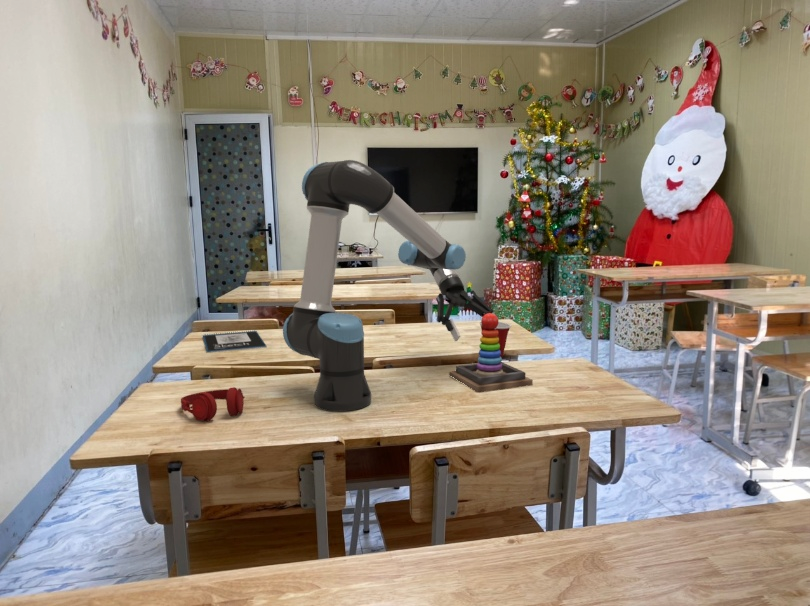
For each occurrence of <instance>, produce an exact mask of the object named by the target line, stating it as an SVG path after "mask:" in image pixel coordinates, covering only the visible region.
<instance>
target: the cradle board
mask: <svg viewBox="0 0 810 606" xmlns="http://www.w3.org/2000/svg"><path fill="white" fill-rule="evenodd" d="M477 363H478V362H477ZM477 363H469V364H467V363H466V364H460V365H455V370H451V371H448V374H449V375H450V376H452V377H454V378H455V379H457V380H458V381H460V382H462V383H464V384H465V385H467V386H468V387H467V386H466V387H467V388H469V387H470V388H469V389H471V388H472V389H471V390H473V391H474V390H475V391H474V392H475V393H484V391H486V392H492V391H491V390H493V391H498V389H500V390H506V389H505V388H507V389H512V387H514V388H520V387H519V386H521V387H526V385H528V386H533V383H534V382H533V379H531V378H529V377H527V376H526V372H525V371H523V370H521V369H518V368H516V367H514V366H511V365H509V364H507V363H505V362H502V361H501V364H502V368H501V369H502V370H503V374H498V375H490V376H480V375H478V374H477V373H476V371H477V369H478V368H477ZM450 376H449V377H450ZM455 379H454V380H455ZM457 380H456V381H457ZM458 381H457V382H458ZM460 382H459V383H460ZM462 383H461V384H462ZM464 384H463V385H464ZM465 385H464V386H465Z"/></svg>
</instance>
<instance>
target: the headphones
mask: <svg viewBox="0 0 810 606" xmlns="http://www.w3.org/2000/svg"><path fill="white" fill-rule="evenodd" d="M244 399H245V396H244V393H243V391H242V389H241V388H237V387H234V386H233V387H230V388H228V389H226V388H225V389H218V390H217V389H214V390H209V391H207V390H206V391H202V392H197V393H191V394H188V395H185V396H183V397H181V398H180V405H181V409H182V410H183V411H184V412H186V411H187V412H188V413H190V414H192V416H193V417H194V418H195V419H196V420H197V421H200V422H201V421H202V422H208V421H211V420H212V419H213V418H214V417H216V415H217V410H218V404H217V400H226V410H227V412H228V414H229V415H230V416H231V417H234V416H238V415H239V414H242V413H243V410H244Z"/></svg>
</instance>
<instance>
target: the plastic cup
mask: <svg viewBox="0 0 810 606" xmlns="http://www.w3.org/2000/svg"><path fill="white" fill-rule="evenodd" d="M479 325H480V327H481V328H480V329H481V331H482V330H483V329H485V328H484V327H483V326H482V324H481V321H480V322H479ZM511 327H512V325H511V324H509V323H508V322H503V321H499V323H498V326H497V327H496V328H495V329H496V330H498V335H497V337H498V338H499V342H498V343H499V344H500V348H499V350H500V351H501V355H500V356H501V358H502V359H503V356H504V353H505V348H506V344H507V339H508V334H509V331H510V329H511Z"/></svg>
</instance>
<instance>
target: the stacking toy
mask: <svg viewBox="0 0 810 606" xmlns="http://www.w3.org/2000/svg"><path fill="white" fill-rule="evenodd" d="M484 314H485V313H484ZM480 322H481V324H482V326H483V327H484V328H485V329H483V330H482V329H481V337H480V338H479V341H480V343H479V351H478V355H479V356H478V358H477V360H478V362H477V368H478V369H477V371H476V373H477V374H478V375H480V376H490V375H498V374H503V370H502V369H501V368H502V364H501V362H502V361H503V360H502V359H503V357H502V358H501V356H500V355H501V351H500V350H499V348H500V344H499V343H498V342H499V338H498V337H497V335H498V330H496V329H495V328H496V327H497V326H498V323H499V322H500V321H499V318H498V316H497V314H495V313H488V314H485V315H484V316H483V317H481V321H480Z"/></svg>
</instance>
